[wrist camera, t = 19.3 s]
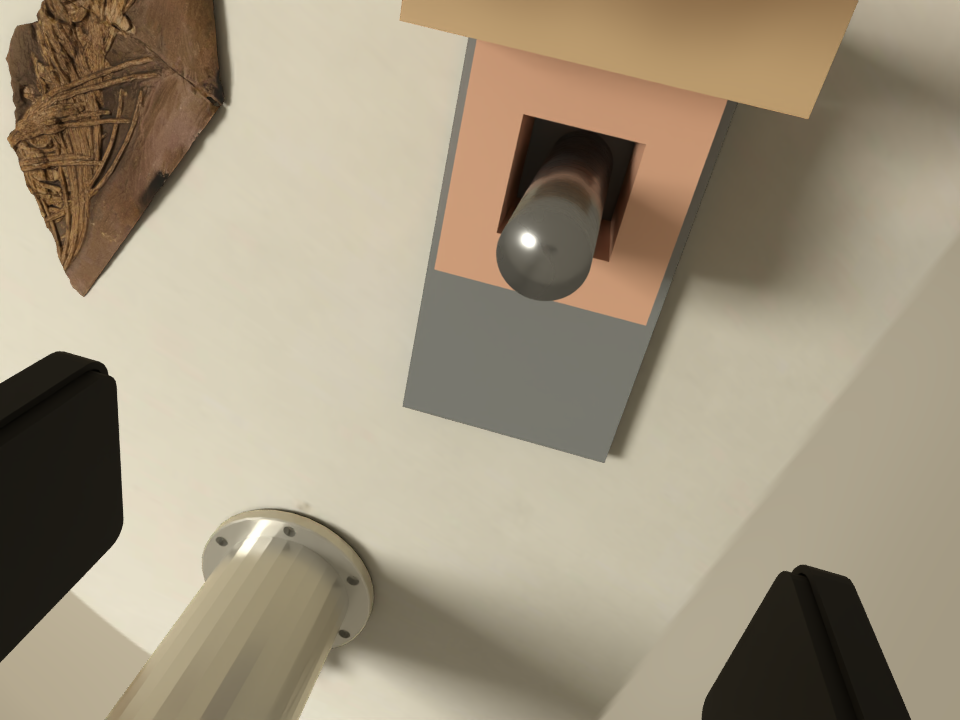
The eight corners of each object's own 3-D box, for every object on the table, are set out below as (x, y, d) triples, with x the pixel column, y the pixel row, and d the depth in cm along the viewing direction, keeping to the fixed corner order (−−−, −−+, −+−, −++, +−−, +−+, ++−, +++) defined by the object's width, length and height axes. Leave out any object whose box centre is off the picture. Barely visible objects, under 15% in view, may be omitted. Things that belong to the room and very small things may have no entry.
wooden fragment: (79, -268, 28) (61, -277, 27) (307, -110, 30) (297, -114, 29) (-18, 229, 41) (-33, 234, 40) (146, 327, 42) (135, 334, 41)
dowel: (605, 201, 32) (581, 309, 22) (543, 190, 32) (491, 291, 22) (619, 135, 30) (600, 219, 20) (553, 125, 31) (502, 202, 20)
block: (641, 275, 33) (645, 325, 28) (463, 229, 33) (434, 269, 28) (709, 80, 28) (729, 95, 23) (503, 31, 29) (477, 34, 24)
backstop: (744, 84, 29) (808, 119, 19) (471, 18, 29) (399, 20, 20) (773, 5, 27) (858, 0, 18) (486, -61, 28) (415, -102, 18)
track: (604, 453, 39) (604, 462, 38) (407, 397, 40) (402, 406, 39) (784, -36, 27) (789, -37, 26) (497, -101, 28) (493, -105, 27)
